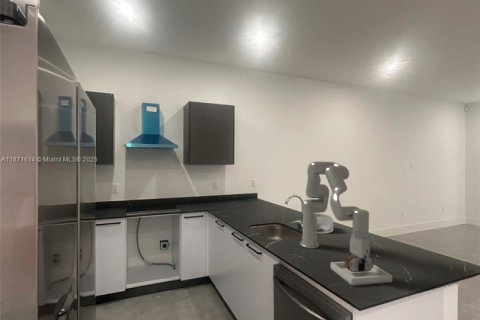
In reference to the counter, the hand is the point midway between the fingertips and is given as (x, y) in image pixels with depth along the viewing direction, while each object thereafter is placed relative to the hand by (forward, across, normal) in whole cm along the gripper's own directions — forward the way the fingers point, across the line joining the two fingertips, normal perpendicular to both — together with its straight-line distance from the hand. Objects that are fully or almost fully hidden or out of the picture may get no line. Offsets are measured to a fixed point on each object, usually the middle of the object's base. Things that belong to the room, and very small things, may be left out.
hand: (359, 268), depth 124 cm
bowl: (+4, -78, +19) cm, 80 cm away
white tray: (+3, 0, 0) cm, 3 cm away
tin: (+1, 0, 0) cm, 1 cm away
